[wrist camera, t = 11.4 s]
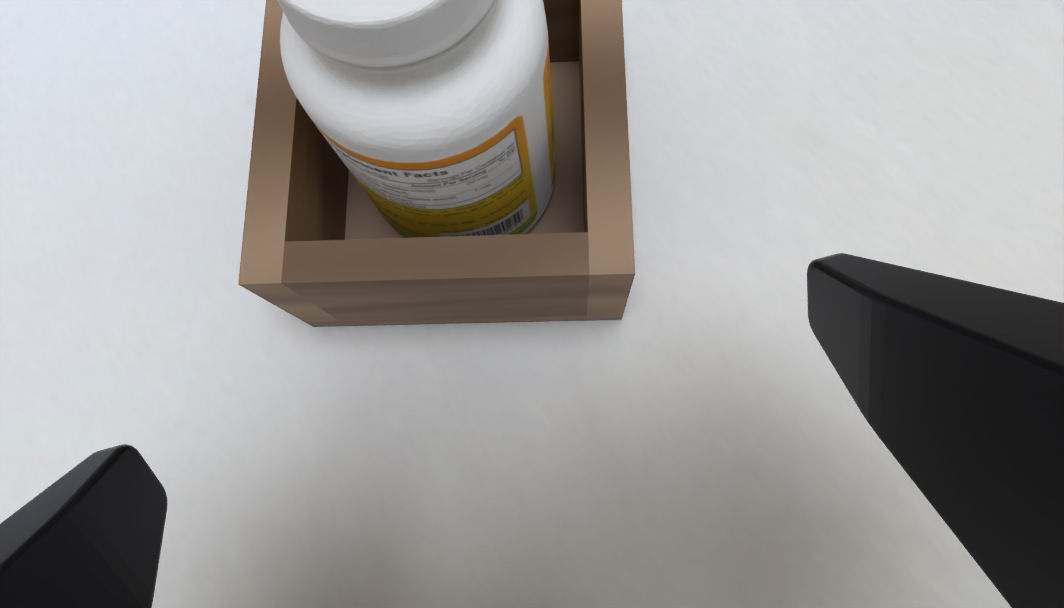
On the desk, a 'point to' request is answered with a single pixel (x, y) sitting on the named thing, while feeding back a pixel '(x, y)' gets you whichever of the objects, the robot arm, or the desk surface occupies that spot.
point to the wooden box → (457, 261)
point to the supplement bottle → (431, 106)
